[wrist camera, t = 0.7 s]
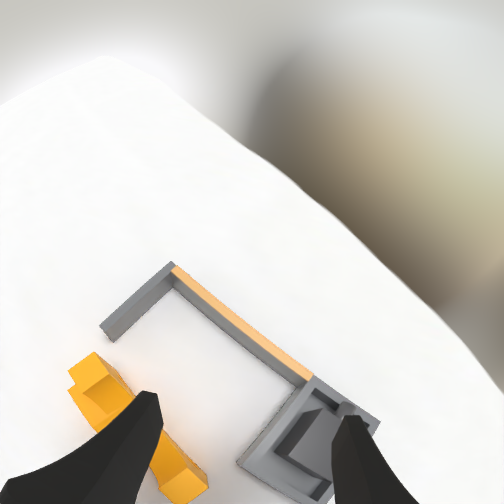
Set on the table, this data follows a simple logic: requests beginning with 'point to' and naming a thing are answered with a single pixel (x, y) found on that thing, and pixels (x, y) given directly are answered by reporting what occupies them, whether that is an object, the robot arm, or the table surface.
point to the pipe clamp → (111, 405)
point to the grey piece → (292, 412)
